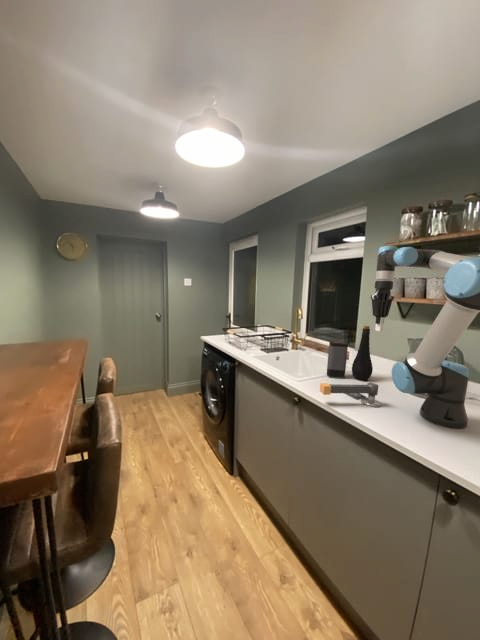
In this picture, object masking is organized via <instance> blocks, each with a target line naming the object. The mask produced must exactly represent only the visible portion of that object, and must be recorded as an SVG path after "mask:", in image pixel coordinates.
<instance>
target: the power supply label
mask: <svg viewBox="0 0 480 640" xmlns="http://www.w3.org/2000/svg"><path fill="white" fill-rule="evenodd" d="M344 394H345V395H347V396H349V397H351V398H352V399H354V400H361V399H362V398H368V396H366V395H364V394H363V393H344Z"/></svg>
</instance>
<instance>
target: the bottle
mask: <svg viewBox="0 0 480 640" xmlns="http://www.w3.org/2000/svg"><path fill="white" fill-rule="evenodd" d="M370 327H371V326H370V325H363V328H362V332H361V338H360V343H359V346H358V350H357V354H356V355H355V358H354V360H353V362H352V364H351V365H352V366H351V372H352V376H353V379H354V380H357V381H360V382H368V381H369V379H370V378H371V377H372V375H373V371H374V370H373V367H374V366H373V363H372V359H371V352H370V334H371V333H370V331H371V329H370Z"/></svg>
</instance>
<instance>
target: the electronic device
mask: <svg viewBox="0 0 480 640" xmlns="http://www.w3.org/2000/svg"><path fill="white" fill-rule="evenodd" d="M348 347H349V343H347V342H346V341H334V340H330V341H329V343H328V353H327V354H328V355H327V363H326V365H327V367H326V376H327V377H328V378H330V379H340V380H341V379H343V380H344V379H345V377H346V368H347V357H348Z"/></svg>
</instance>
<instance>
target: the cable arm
mask: <svg viewBox="0 0 480 640" xmlns="http://www.w3.org/2000/svg"><path fill="white" fill-rule="evenodd" d="M319 392H320V393H321V394H322V395H328V396H331V394H345V393H359V394H367V395H368V394H370V395H375V396H378V394H379V384H377V383H374V382H367V384H341V383H339V384H337V383H335V384H332V383H331V384H329V383H328V382H320V385H319Z"/></svg>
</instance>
